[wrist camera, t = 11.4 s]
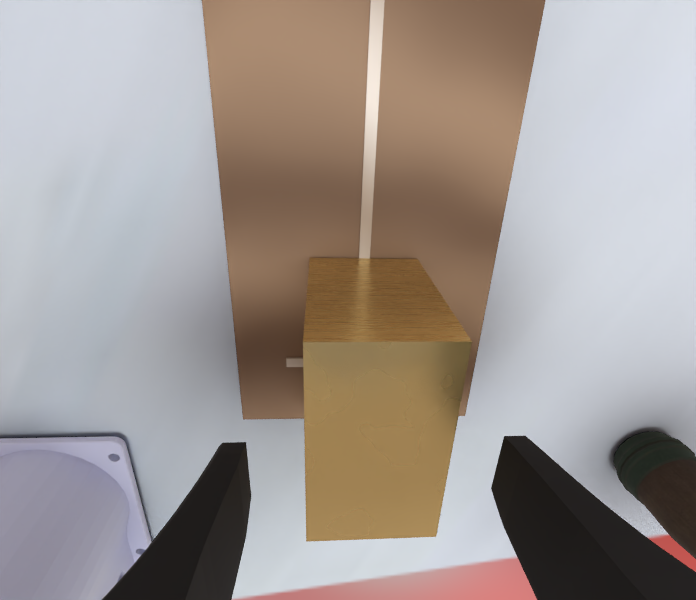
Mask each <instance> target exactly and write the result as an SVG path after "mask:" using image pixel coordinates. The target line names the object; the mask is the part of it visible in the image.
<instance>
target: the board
mask: <svg viewBox="0 0 696 600" xmlns="http://www.w3.org/2000/svg"><path fill="white" fill-rule="evenodd" d="M544 5H545V0H202V6H203V16H204V26H205V36H206V46H207V57H208V67H209V77H210V87H211V97H212V108H213V118H214V128H215V138H216V148H217V158H218V169H219V179H220V189H221V199H222V209H223V220H224V230H225V240H226V250H227V260H228V271H229V281H230V291H231V301H232V311H233V321H234V332H235V342H236V352H237V362H238V372H239V383H240V393H241V403H242V413H243V419H297V418H304V372H303V336H304V323H305V310H306V298H307V285H308V273H309V260H310V258H381V259H418V260H419V262H420V263H421V265H422V266H423V268H424V269H425V271H426V272H427V274H428V275H429V277H430V278H431V280H432V282H433V283H434V285H435V286H436V288H437V289H438V291H439V292H440V294H441V295H442V297H443V298H444V300H445V301H446V303H447V304H448V306H449V307H450V309H451V310H452V312H453V313H454V315H455V316H456V318H457V319H458V321H459V322H460V324H461V326H462V327H463V329H464V330H465V332H466V333H467V335H468V336H469V338H470V339H471V341H472V344H471V350H470V355H469V361H468V366H467V371H466V377H465V382H464V388H463V393H462V399H461V404H460V409H459V415H458V416H465V413H466V407H467V402H468V397H469V392H470V387H471V382H472V376H473V371H474V366H475V361H476V356H477V351H478V346H479V340H480V335H481V330H482V325H483V320H484V315H485V309H486V304H487V299H488V294H489V289H490V284H491V278H492V273H493V268H494V263H495V258H496V253H497V247H498V242H499V237H500V232H501V227H502V222H503V216H504V211H505V206H506V201H507V196H508V191H509V185H510V180H511V175H512V170H513V165H514V160H515V154H516V149H517V144H518V139H519V134H520V129H521V123H522V118H523V113H524V108H525V103H526V98H527V92H528V87H529V82H530V77H531V72H532V67H533V62H534V56H535V51H536V46H537V41H538V36H539V31H540V25H541V20H542V15H543V10H544Z"/></svg>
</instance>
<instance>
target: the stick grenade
mask: <svg viewBox="0 0 696 600" xmlns="http://www.w3.org/2000/svg"><path fill="white" fill-rule="evenodd" d="M614 465H615V468H616V470H617V475H618V478H619V480H620V481H621V483H623V486H624V487H625V489H626V490H628V491H629V492H630V493H631V494H633V496H634V497H635V498H636V499H637V500H639V501H640V502H641V503H642V504H644V505H645V506H646V508H647V509H648V510H649V511H650V512H651V514H652V515H653V516H654V517H655V518H656V519H657V521H658V522H659V523H660V524H661V525H662V527H663V528H664V529H665V530H666V531H667V533H668V534H669V535H670V536H671V537H672V538H673V539H674V540H675V541H676V542H677V543H678V544H679V545H681V546H682V547H683V548H684V549H685V550H686V551H687V552H689V553H690V554H691V555H692V556H693V557H694V558H695V559H696V457H695V454H694V453H693V452H692V451H691V450H690V449H689V448H688V447H687V446H686V445H684V444H683V443H682V442H681V441H679V440H678V439H675V438H672V437H670V436H668V435H666V434H663V433H660V432H644V433H640V434H637V435H635V436H633V437H631V438H629V439H627V440H626V441H625V442H624V443H623V444H622V445H620V447H619V448H618V450H617V452H616V453H615V457H614Z"/></svg>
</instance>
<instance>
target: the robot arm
mask: <svg viewBox="0 0 696 600" xmlns="http://www.w3.org/2000/svg"><path fill="white" fill-rule="evenodd" d="M115 454H117V455H115ZM491 489H492V492H493V495H494V499H495V502H496V505H497V508H498V511H499V514H500V517H501V520H502V523H503V526H504V528H505V530H506V533H507V535H508V537H509V539H510V541H511V544H512V546H513V548H514V550H515V552H516V555H517V557H518V559H519V561H520V563H521V565H522V568H523V570H524V572H525V574H526V576H527V578H528V580H529V583H530V585H531V587H532V589H533V591H534V594H535V596H536V598H537V600H696V572H695V571H693V570H692V569H690V568H689V567H687V566H686V565H684V564H683V563H682V562H680V561H679V560H677V559H676V558H674V557H673V556H672V555H670V554H669V553H667V552H666V551H665V550H663V549H662V548H660V547H659V546H658V545H656V544H655V543H653V542H652V541H651V540H649V539H648V538H647V537H645V536H644V535H643V534H641V533H640V532H639V531H638V530H636V529H635V528H634V527H632V526H631V525H630V524H629V523H627V522H626V521H625V520H623V519H622V518H621V517H620V516H618V515H617V514H616V513H615V512H613V511H612V510H611V509H610V508H608V507H607V506H606V505H605V504H604V503H602V502H601V501H600V500H599V499H597V498H596V497H595V496H594V495H593V494H592V493H590V492H589V491H588V490H587V489H586V488H584V487H583V486H582V485H581V484H580V483H579V482H577V481H576V480H575V479H574V478H573V477H572V476H571V475H569V474H568V473H567V472H566V471H565V470H564V469H563V468H561V467H560V466H559V465H558V464H557V463H556V462H555V461H554V460H552V459H551V458H550V457H549V456H548V455H547V454H546V453H545V452H543V451H542V450H541V449H540V448H539V447H538V446H537V445H535V444H534V443H533V442H532V441H531V440H530V439H528V438H527V437H526V436H504V440H503V443H502V447H501V451H500V455H499V459H498V463H497V467H496V471H495V475H494V479H493V483H492V487H491ZM250 501H251V490H250V480H249V470H248V459H247V449H246V442H237V443H222V444H221V445H220V446H219V447H218V449H217V451H216V452H215V454H214V456H213V457H212V459H211V460H210V462H209V464H208V465H207V467H206V468H205V470H204V471H203V473H202V475H201V476H200V478H199V479H198V481H197V482H196V483H195V485H194V486H193V488H192V489H191V491H190V492H189V494H188V495H187V496H186V498H185V499H184V501H183V502H182V503H181V505H180V506H179V508H178V509H177V510H176V512H175V513H174V514H173V516H172V517H171V518H170V520H169V521H168V522H167V524H166V525H165V526H164V527H163V529H162V530H161V531H160V532H159V534H158V535H157V536H156V538H155V539H154V540H153V541H152V542H151V538H150V534H149V530H148V527H147V523H146V519H145V515H144V511H143V507H142V504H141V500H140V496H139V492H138V488H137V484H136V481H135V477H134V473H133V469H132V465H131V462H130V458H129V454H128V450H127V446H126V443H125V441H124V440H122V439H121V438H119V437H114V436H110V437H56V438H3V439H0V600H231V599H232V594H233V590H234V586H235V582H236V577H237V573H238V569H239V564H240V560H241V556H242V551H243V547H244V542H245V538H246V532H247V524H248V517H249V509H250Z"/></svg>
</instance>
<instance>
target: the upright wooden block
mask: <svg viewBox="0 0 696 600" xmlns="http://www.w3.org/2000/svg"><path fill="white" fill-rule="evenodd" d="M471 344H472V341H471V339H470V338H469V336H468V335H467V333H466V332H465V330H464V329H463V327H462V326H461V324H460V322H459V321H458V319H457V318H456V316H455V315H454V313H453V312H452V310H451V309H450V307H449V306H448V304H447V303H446V301H445V300H444V298H443V297H442V295H441V294H440V292H439V291H438V289H437V288H436V286H435V285H434V283H433V282H432V280H431V278H430V277H429V275H428V274H427V272H426V271H425V269H424V268H423V266H422V265H421V263H420V262H419V260H418V259H381V258H310V260H309V273H308V285H307V298H306V310H305V323H304V336H303V372H304V429H305V485H306V541H330V540H357V539H384V538H411V537H436V534H437V528H438V523H439V518H440V512H441V507H442V501H443V496H444V491H445V485H446V480H447V474H448V469H449V463H450V458H451V453H452V447H453V442H454V436H455V431H456V426H457V420H458V415H459V409H460V404H461V399H462V393H463V388H464V382H465V377H466V371H467V366H468V361H469V355H470V350H471Z"/></svg>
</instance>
